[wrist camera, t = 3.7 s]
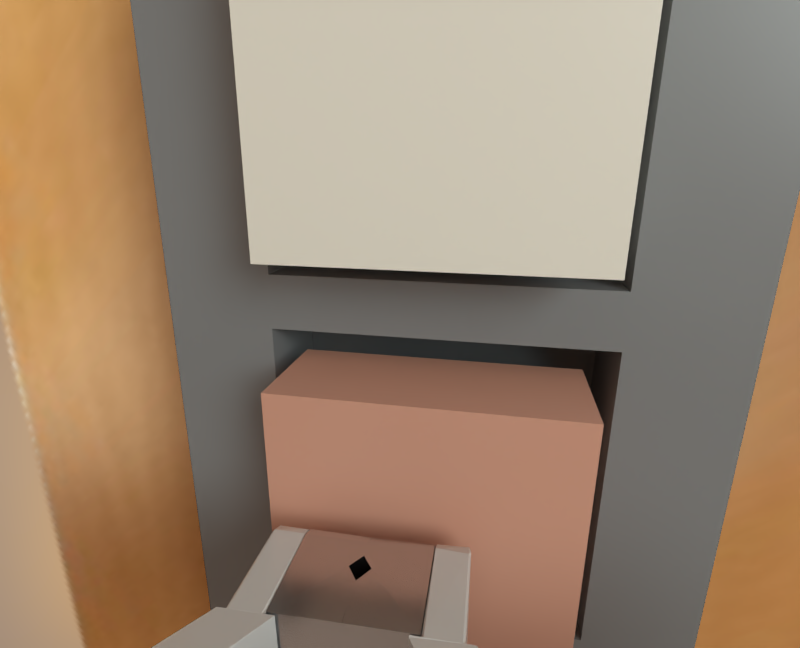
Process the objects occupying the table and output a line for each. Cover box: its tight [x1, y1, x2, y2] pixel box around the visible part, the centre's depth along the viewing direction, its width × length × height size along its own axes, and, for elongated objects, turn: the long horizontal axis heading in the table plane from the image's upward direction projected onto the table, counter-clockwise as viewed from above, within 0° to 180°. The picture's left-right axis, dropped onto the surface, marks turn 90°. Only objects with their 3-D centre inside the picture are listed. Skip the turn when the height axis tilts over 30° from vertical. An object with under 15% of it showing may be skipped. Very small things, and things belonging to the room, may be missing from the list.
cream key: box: [229, 0, 663, 280], centre depth 7 cm, size 5×5×2 cm
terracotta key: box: [261, 349, 604, 648], centre depth 9 cm, size 5×5×2 cm
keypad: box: [130, 0, 800, 648], centre depth 13 cm, size 29×10×4 cm, turn 0°
